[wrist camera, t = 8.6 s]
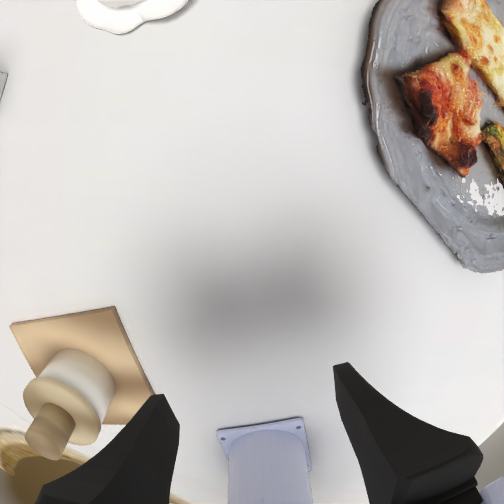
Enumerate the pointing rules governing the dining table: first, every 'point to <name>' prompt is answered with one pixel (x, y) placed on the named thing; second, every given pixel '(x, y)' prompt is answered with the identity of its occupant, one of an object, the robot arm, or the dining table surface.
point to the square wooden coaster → (95, 344)
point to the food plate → (442, 114)
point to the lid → (58, 417)
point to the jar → (83, 378)
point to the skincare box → (2, 81)
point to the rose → (124, 12)
